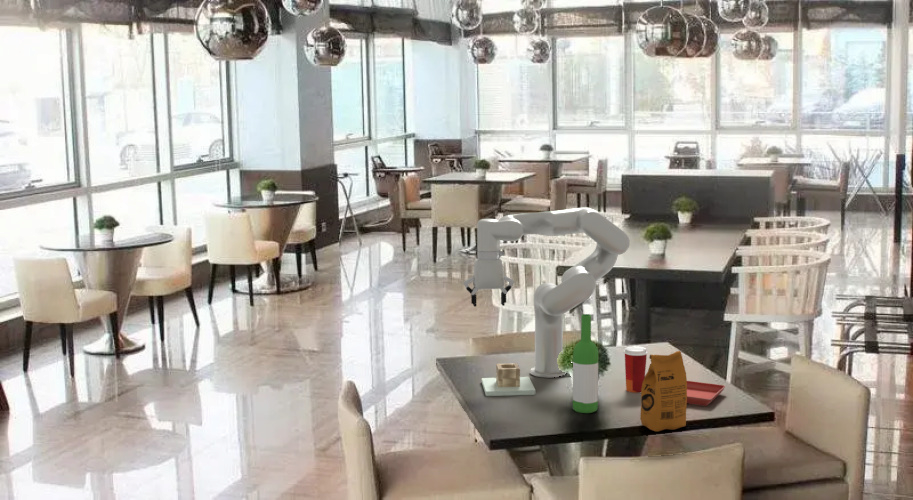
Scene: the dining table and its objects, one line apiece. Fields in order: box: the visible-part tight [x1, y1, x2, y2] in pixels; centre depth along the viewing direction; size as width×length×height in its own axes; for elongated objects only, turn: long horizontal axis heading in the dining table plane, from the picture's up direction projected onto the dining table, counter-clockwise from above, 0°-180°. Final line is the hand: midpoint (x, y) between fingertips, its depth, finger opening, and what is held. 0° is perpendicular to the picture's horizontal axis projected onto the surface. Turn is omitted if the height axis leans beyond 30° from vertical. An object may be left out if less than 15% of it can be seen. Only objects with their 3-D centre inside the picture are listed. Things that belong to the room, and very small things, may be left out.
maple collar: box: [495, 362, 521, 387], centre depth 369 cm, size 7×7×6 cm
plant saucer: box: [687, 380, 726, 407], centre depth 358 cm, size 18×18×3 cm
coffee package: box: [639, 350, 688, 432], centre depth 328 cm, size 10×12×22 cm
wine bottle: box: [572, 313, 599, 414], centre depth 343 cm, size 8×8×30 cm
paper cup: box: [623, 345, 648, 394], centre depth 365 cm, size 8×8×14 cm
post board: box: [481, 376, 536, 397], centre depth 369 cm, size 16×16×6 cm
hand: (488, 305), depth 380 cm, fingers open, 9 cm apart
